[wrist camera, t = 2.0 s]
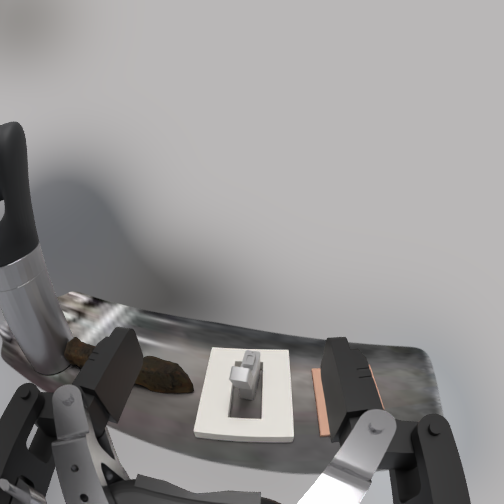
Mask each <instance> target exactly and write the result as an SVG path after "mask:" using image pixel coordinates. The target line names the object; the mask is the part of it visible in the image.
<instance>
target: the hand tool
mask: <svg viewBox="0 0 504 504" xmlns="http://www.w3.org/2000/svg"><path fill="white" fill-rule="evenodd" d="M95 347H96V346H92V345H89V344H86V343H84V342H81V341H80V340H79V339H78V338H77V337H74V338H73V339H71V340H70V341H69V342H67V345H66V349H65V353H64V356H65V358H66V360H67V361H69V363H70V364H71V365H77V366H78V367H80V368H82V367H83V366H84V364H85V362H86V361H87V360H88V358H89V356H90V355H91V353H93V350H94V348H95ZM135 383H136V384H139V385H142V386H144V387H146V388H148V389H149V390H150V391H155V392H162V393H187V392H193V391H194V388H193V384H192V382H191V380H190V378H189V376H188V375H187V374H186V373H185V372H184V371H183V369H182V368H181V367H180V366H179V365H178V364H177V363H173V362H170V361H165V360H162V359H160V358H157V357H153V356H146V357H144V358H143V365H142V368H141V370H140V372H139V375H138V377H137V379H136V381H135Z"/></svg>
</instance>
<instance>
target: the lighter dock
mask: <svg viewBox="0 0 504 504" xmlns="http://www.w3.org/2000/svg"><path fill="white" fill-rule="evenodd" d="M247 350H250V351H257V352H260V370H263V387H262V419H247V418H230V410H231V402H232V393H233V384H232V383H231V381H230V380H229V377H230V372H231V368H232V366H236V367H241V364H242V361H243V357H244V354H245V351H247ZM194 434H195V436H196V437H198V438H206V439H215V440H225V441H239V442H292V441H293V438H294V428H293V410H292V393H291V378H290V364H289V350H258V349H231V348H214V347H212V350H211V355H210V359H209V364H208V368H207V372H206V377H205V381H204V386H203V390H202V395H201V399H200V404H199V409H198V413H197V418H196V423H195V427H194Z"/></svg>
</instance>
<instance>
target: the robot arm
mask: <svg viewBox="0 0 504 504" xmlns="http://www.w3.org/2000/svg"><path fill="white" fill-rule="evenodd" d="M1 200H4V202H5V214H4V216H3V218H2V220H1V221H0V308H1V310H2V313H3V315H4V317H5V319H6V321H7V323H8V325H9V327H10V329H11V331H12V333H13V335H14V337H15V339H16V341H17V342H18V344H19V346H20V348H21V349H22V351H23V353H24V354H25V356H26V358H27V359H28V360H29V362H30V363H31V365H32V366H33V368H34V369H35V370H36V371H37V372H38V373H41V374H45V375H51V374H55V373H58V372H60V371H62V370H64V369H65V368H67V367H68V366H69V365H70V363H69V361H67V360H66V358H65V356H64V353H65V349H66V345H67V342H69V341H70V340H71V339H73V338H74V337H73V335H72V332H71V330H70V328H69V326H68V323H67V321H66V319H65V316H64V314H63V311H62V309H61V306H60V304H59V301H58V299H57V296H56V293H55V291H54V288H53V285H52V282H51V279H50V277H49V273H48V270H47V267H46V264H45V261H44V257H43V254H42V250H41V247H40V243H39V239H38V235H37V231H36V226H35V221H34V215H33V210H32V204H31V197H30V189H29V179H28V162H27V146H26V138H25V134H24V131H23V128H22V126H21V125H20V124H19V123H18V122H9V123H6V124H3V125H0V201H1ZM142 365H143V354H142V351H141V348H140V345H139V342H138V339H137V336H136V333H135V331H134V330H133V329H130V328H122V327H116V328H115V329H114V330H113V332H112V333H111V335H110V337H105V338H104V339H103V340H102V341H100V342H99V343H98V344H97V345H96V347H95V348H94V350H93V353H91V355H90V356H89V358H88V360H87V361H86V362H85V364H84V366H83V367H82V369H81V370H80V372H79V374H78V375H77V377H76V379H75V380H74V382H73V383H72V385H64V386H61V387H60V388H58V389H57V390H56V391H55V393H47V392H40V391H39V390H38V388H37V387H36V385H34V384H32V383H26V384H23V385H21V386H20V387H19V388H18V389H17V390H16V392H15V394H14V395H13V397H12V399H11V401H10V402H9V404H8V406H7V408H6V410H5V411H4V413H3V415H2V417H1V419H0V504H47V502H46V499H45V496H46V493H47V490H48V487H49V484H50V481H51V477H52V474H53V472H54V469H55V466H56V470H57V474H58V478H59V482H60V486H61V489H62V493H63V495H64V499H65V502H66V504H281V503H278V502H276V501H274V500H271V499H267V498H263V497H261V492H240V491H221V492H211V493H198V494H197V493H192V492H190V491H187V490H185V489H182V488H180V487H178V486H175V485H173V484H171V483H169V482H166V481H163V480H159V479H154V478H151V477H147V476H143V475H140V474H138V475H137V478H136V479H133V480H130V478H129V476H128V474H127V473H126V471H125V470H124V468H123V467H122V465H121V463H120V461H119V459H118V457H117V454H116V451H115V449H114V446H113V443H112V440H111V438H110V435H109V432H108V429H107V427H106V425H107V422H108V421H110V422H114V423H118V421H119V418H120V416H121V414H122V411H123V409H124V407H125V404H126V402H127V400H128V397H129V395H130V393H131V390H132V388H133V386H134V383H135V381H136V379H137V377H138V375H139V372H140V370H141V368H142ZM321 381H322V386H323V392H324V398H325V405H326V411H327V417H328V424H329V431H330V438H331V443H332V442H340V450H339V451H338V453H337V454H336V456H335V457H334V458H333V460H332V461H331V463H330V464H329V465H328V466H327V468H326V469H325V470H324V472H323V473H322V474H321V476H320V477H319V478H318V480H317V481H316V482H315V483H314V485H313V486H312V487H311V488H310V489H309V491H308V492H307V493H306V494H305V495H304V497H303V498H302V499H301V500H300V501H299V502H298V503H297V504H359V503H360V501H361V500H362V498H363V497H364V495H365V494H366V492H367V490H368V489H369V487H370V485H371V478H372V476H373V474H374V473H375V471H376V469H377V468H379V469H389V473H390V480H391V486H392V495H393V503H394V504H471V503H470V497H469V493H468V488H467V483H466V479H465V475H464V471H463V467H462V464H461V460H460V456H459V453H458V450H457V447H456V443H455V440H454V437H453V434H452V431H451V428H450V425H449V423H448V421H447V420H446V419H445V418H444V417H443V416H441V415H438V414H429V415H426V416H424V417H423V418H422V419H421V420H420V421H419V422H413V421H401V420H397V419H394V417H393V416H392V415H391V414H390V413H388V412H386V411H385V410H384V408H383V406H382V403H381V400H380V397H379V394H378V391H377V388H376V385H375V382H374V379H373V378H372V373H371V370H370V369H369V364H368V362H367V359H366V357H365V356H364V355H363V354H362V352H361V351H360V350H359V349H350V347H349V344H348V341H347V338H346V337H336V338H327V340H326V344H325V348H324V353H323V357H322V362H321ZM34 424H35V425H36V426H37V427H38V429H37V432H36V434H35V436H34V438H33V440H32V443H31V445H30V447H29V449H27V447H26V441H27V438H28V436H29V434H30V431H31V430H32V427H33V425H34Z"/></svg>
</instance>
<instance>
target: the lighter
mask: <svg viewBox="0 0 504 504" xmlns="http://www.w3.org/2000/svg"><path fill="white" fill-rule="evenodd" d="M259 376H260V352H257V351H250V350H247V351H245V354H244V357H243V361H242V364H241V367H236V366H232V368H231V372H230V377H229V380H230V381H231V383H232V384H233V385H234V387H236V388H239V397H240V398H243V399H249V400H253V399H254V397H255V393H256V389H257V385H258V380H259Z"/></svg>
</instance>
